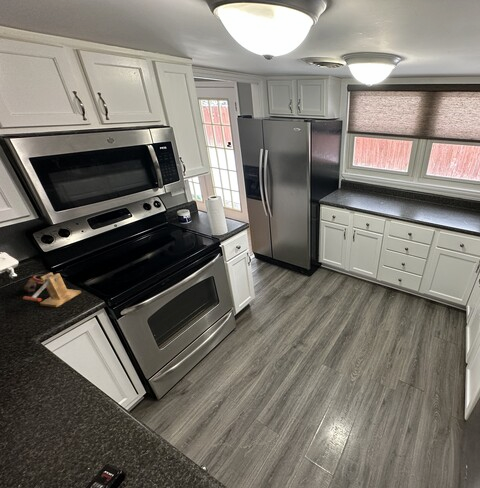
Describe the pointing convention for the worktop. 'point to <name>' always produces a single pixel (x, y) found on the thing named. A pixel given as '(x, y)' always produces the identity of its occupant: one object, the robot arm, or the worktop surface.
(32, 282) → the pottery mug
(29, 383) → the worktop surface
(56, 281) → the bracket
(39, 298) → the lever
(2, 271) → the robot arm
